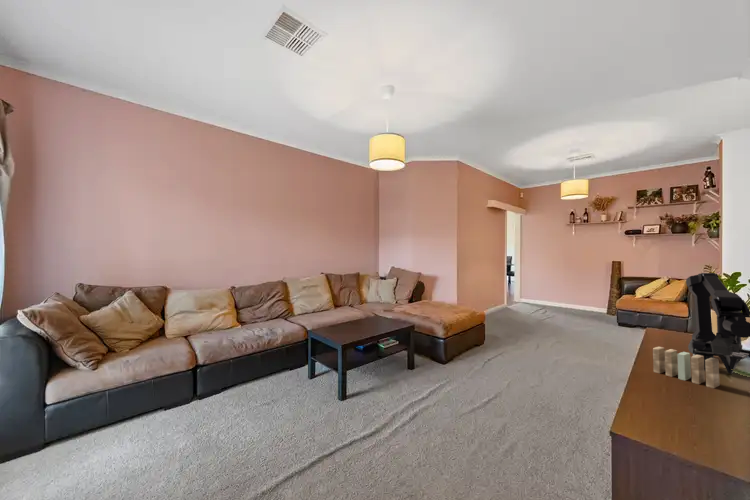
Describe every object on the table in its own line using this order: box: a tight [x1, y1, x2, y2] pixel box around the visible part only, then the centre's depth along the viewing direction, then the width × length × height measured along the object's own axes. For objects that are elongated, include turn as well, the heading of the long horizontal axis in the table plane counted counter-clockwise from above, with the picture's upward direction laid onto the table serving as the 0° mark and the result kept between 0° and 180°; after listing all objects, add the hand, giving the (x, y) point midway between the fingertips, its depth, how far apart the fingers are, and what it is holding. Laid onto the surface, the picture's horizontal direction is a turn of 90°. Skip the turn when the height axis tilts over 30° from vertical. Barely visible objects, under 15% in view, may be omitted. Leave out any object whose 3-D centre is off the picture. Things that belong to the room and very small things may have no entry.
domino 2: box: [665, 348, 678, 378], centre depth 128 cm, size 2×5×10 cm, turn 115°
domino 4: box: [690, 355, 706, 385], centre depth 121 cm, size 2×5×10 cm, turn 116°
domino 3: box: [677, 351, 692, 381], centre depth 124 cm, size 2×5×10 cm, turn 115°
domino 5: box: [705, 357, 720, 389], centre depth 117 cm, size 2×5×10 cm, turn 115°
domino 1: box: [652, 346, 666, 375], centre depth 131 cm, size 2×5×10 cm, turn 115°
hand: (730, 373), depth 113 cm, fingers closed
